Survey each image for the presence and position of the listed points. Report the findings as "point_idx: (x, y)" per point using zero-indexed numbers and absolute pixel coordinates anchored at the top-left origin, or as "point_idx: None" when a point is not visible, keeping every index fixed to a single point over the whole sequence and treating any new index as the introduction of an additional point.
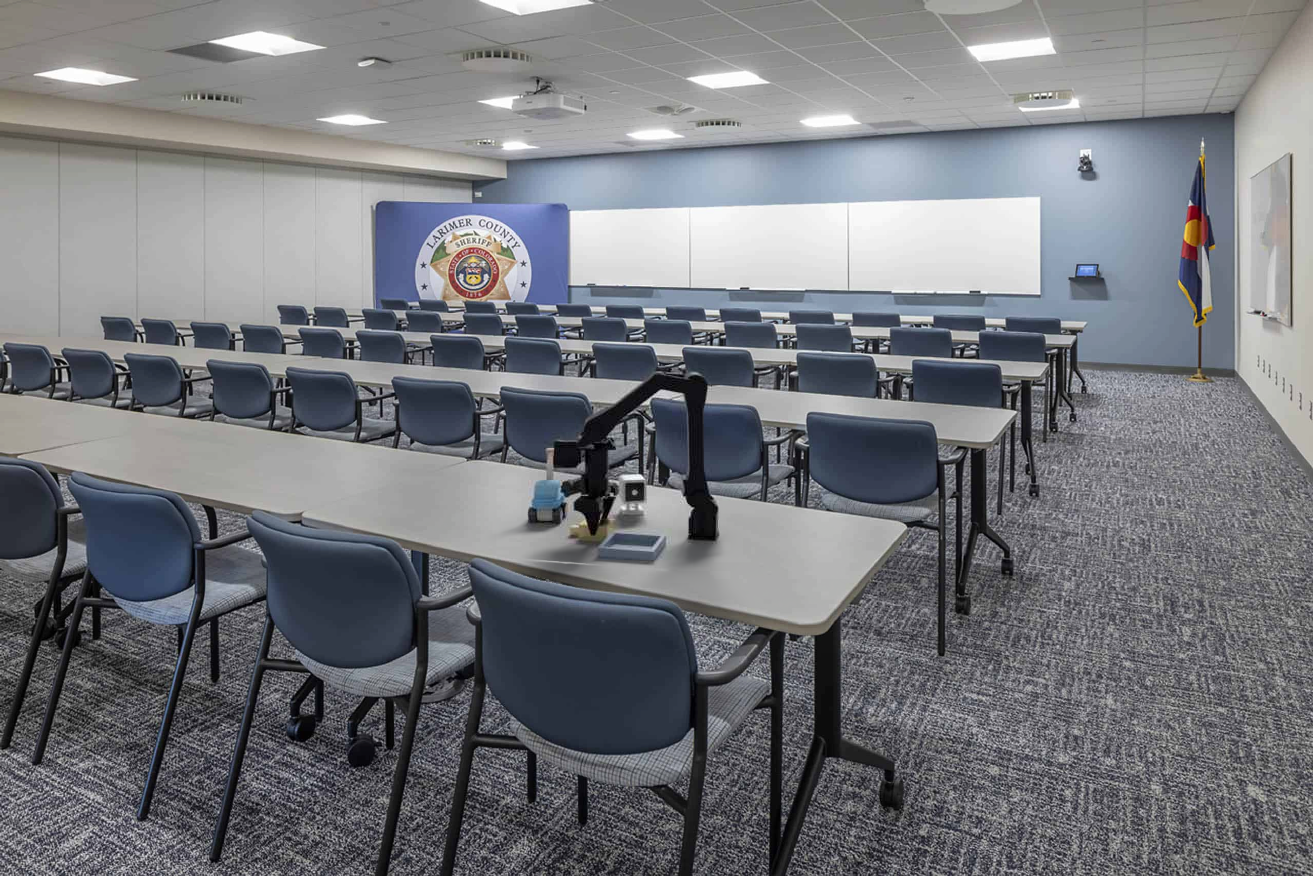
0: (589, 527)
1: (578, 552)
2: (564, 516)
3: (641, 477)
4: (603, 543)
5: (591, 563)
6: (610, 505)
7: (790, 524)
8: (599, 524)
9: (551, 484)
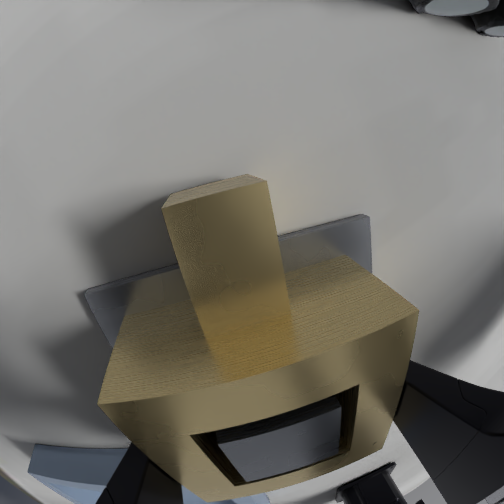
0: (128, 462)
1: (10, 383)
2: (477, 26)
3: None
4: (68, 484)
5: (4, 435)
6: (439, 488)
7: (424, 469)
8: (226, 480)
9: None
